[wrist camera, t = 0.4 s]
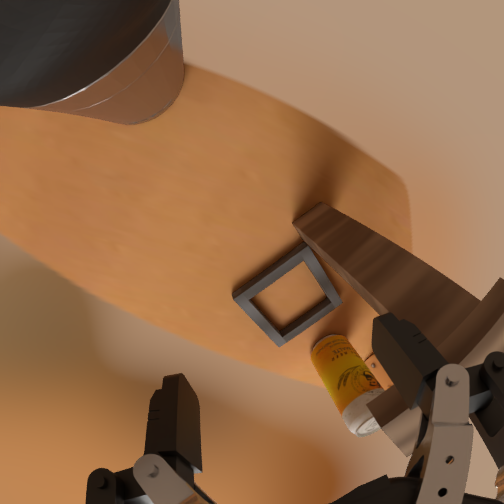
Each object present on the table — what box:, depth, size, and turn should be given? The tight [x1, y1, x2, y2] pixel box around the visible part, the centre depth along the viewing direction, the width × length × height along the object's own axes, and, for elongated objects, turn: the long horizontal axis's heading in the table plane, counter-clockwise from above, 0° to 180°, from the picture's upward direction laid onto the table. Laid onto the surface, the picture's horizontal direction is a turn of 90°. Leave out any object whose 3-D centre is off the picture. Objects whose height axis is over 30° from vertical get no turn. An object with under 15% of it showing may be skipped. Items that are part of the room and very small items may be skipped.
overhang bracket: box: [232, 202, 504, 457], centre depth 22 cm, size 13×16×23 cm
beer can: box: [311, 335, 385, 437], centre depth 32 cm, size 6×6×15 cm
